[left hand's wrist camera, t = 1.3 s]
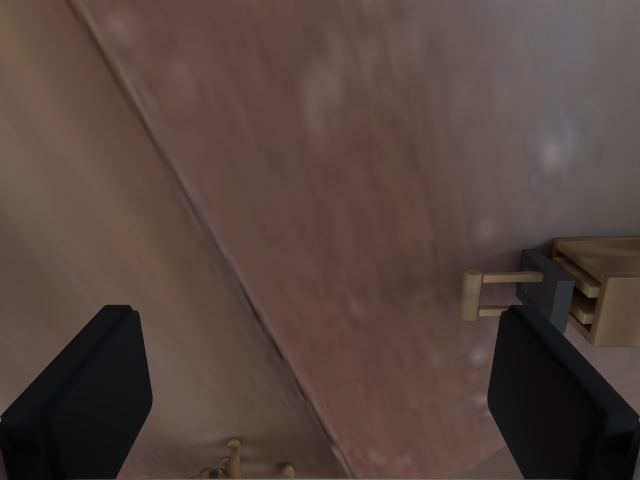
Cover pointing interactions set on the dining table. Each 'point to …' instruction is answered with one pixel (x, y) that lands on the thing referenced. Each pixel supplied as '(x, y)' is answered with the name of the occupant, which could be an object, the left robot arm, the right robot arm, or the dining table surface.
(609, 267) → the cabinet
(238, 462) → the lion figurine
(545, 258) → the wooden handle frame
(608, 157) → the dining table surface
